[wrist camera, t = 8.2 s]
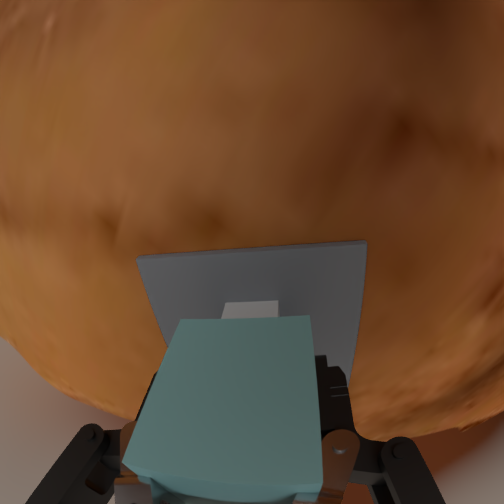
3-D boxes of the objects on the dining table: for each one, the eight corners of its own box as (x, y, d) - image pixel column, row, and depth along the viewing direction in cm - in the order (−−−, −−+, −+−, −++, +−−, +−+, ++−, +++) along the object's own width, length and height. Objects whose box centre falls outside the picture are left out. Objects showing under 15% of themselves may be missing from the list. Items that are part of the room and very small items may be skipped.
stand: (139, 255, 14) (56, 358, 7) (365, 240, 12) (431, 361, 6) (211, 433, 21) (196, 503, 15) (335, 431, 20) (340, 505, 13)
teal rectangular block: (180, 319, 11) (121, 462, 5) (309, 315, 11) (322, 483, 5) (207, 393, 13) (180, 505, 8) (308, 392, 13) (311, 513, 7)
